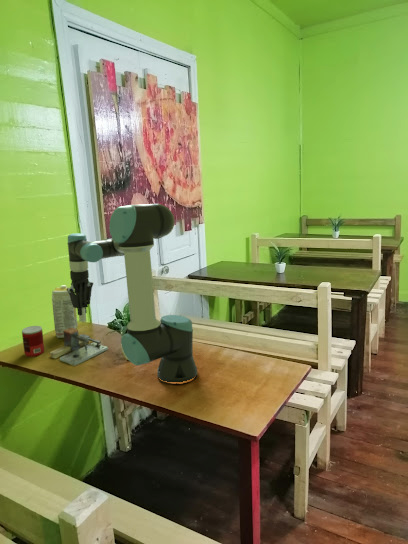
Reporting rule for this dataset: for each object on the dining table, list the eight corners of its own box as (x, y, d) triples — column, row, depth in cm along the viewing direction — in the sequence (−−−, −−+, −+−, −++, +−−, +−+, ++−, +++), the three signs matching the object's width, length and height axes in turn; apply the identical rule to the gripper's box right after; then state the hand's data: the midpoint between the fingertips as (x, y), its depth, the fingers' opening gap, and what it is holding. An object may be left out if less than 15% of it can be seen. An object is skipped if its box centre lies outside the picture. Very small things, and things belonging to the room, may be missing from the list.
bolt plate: (108, 349, 174) (107, 346, 174) (74, 366, 159) (74, 363, 159) (93, 344, 179) (93, 341, 179) (59, 360, 164) (59, 357, 164)
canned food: (47, 349, 174) (45, 325, 171) (38, 357, 166) (35, 333, 164) (30, 348, 175) (28, 325, 172) (21, 357, 167) (18, 332, 164)
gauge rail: (103, 347, 176) (102, 340, 175) (69, 364, 161) (68, 355, 160) (83, 341, 182) (82, 333, 182) (49, 356, 168) (48, 348, 167)
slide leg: (92, 352, 171) (91, 333, 169) (85, 355, 167) (83, 337, 165) (72, 345, 178) (70, 327, 176) (64, 348, 174) (62, 330, 172)
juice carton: (79, 331, 193) (75, 283, 187) (75, 338, 185) (70, 288, 179) (59, 332, 192) (54, 284, 187) (54, 339, 185) (49, 289, 179)
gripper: (85, 265, 179) (88, 315, 185) (60, 271, 169) (65, 324, 175) (96, 267, 175) (99, 318, 181) (72, 274, 165) (76, 327, 171)
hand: (82, 321), depth 178 cm, fingers closed
